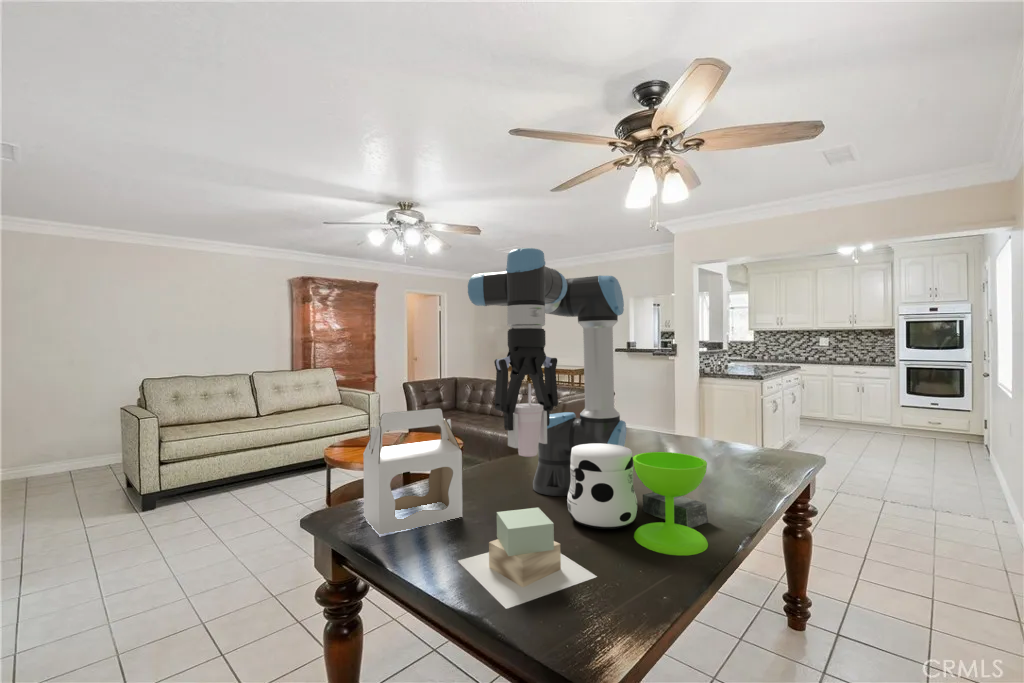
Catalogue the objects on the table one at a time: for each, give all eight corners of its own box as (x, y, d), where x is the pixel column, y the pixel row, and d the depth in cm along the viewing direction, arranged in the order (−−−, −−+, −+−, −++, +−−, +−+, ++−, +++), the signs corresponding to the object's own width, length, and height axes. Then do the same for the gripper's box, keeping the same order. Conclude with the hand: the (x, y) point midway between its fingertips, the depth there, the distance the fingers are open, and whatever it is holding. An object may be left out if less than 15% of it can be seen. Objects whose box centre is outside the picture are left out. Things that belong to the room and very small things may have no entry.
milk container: (650, 520, 114) (649, 449, 114) (612, 542, 102) (611, 462, 102) (593, 504, 126) (592, 439, 127) (553, 521, 114) (552, 450, 114)
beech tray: (489, 567, 90) (488, 542, 90) (526, 552, 96) (526, 528, 96) (522, 587, 82) (522, 559, 82) (560, 569, 89) (560, 543, 89)
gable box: (442, 503, 129) (441, 404, 129) (463, 517, 117) (462, 409, 118) (362, 520, 116) (361, 411, 117) (378, 538, 105) (377, 418, 106)
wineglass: (647, 520, 114) (646, 449, 114) (715, 535, 105) (714, 457, 105) (622, 543, 101) (621, 462, 101) (697, 562, 92) (696, 473, 92)
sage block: (496, 536, 92) (496, 512, 93) (538, 531, 95) (538, 507, 95) (508, 556, 84) (508, 529, 84) (553, 549, 86) (553, 523, 86)
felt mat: (457, 562, 93) (457, 560, 93) (538, 540, 103) (538, 538, 103) (506, 611, 76) (506, 608, 76) (597, 578, 86) (597, 576, 86)
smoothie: (534, 459, 85) (533, 385, 85) (505, 455, 88) (504, 384, 88) (549, 452, 91) (548, 382, 91) (522, 449, 94) (521, 381, 94)
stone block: (666, 506, 125) (665, 487, 125) (711, 523, 112) (711, 502, 113) (642, 512, 121) (642, 492, 121) (686, 531, 108) (686, 509, 108)
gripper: (493, 326, 82) (494, 454, 81) (575, 327, 91) (577, 442, 91) (474, 328, 88) (475, 447, 88) (553, 329, 98) (554, 436, 98)
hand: (527, 444), depth 89 cm, fingers closed on smoothie, 6 cm apart
